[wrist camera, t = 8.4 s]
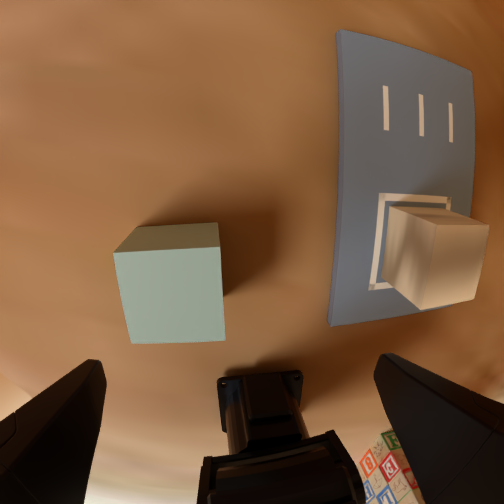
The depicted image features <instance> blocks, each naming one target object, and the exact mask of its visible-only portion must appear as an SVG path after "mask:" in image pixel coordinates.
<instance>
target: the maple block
mask: <svg viewBox="0 0 504 504" xmlns="http://www.w3.org/2000/svg"><path fill="white" fill-rule="evenodd" d="M489 227H490V225H488V224H485V223H482V222H480V221H477V220H474V219H472V218H469V217H466V216H463V215H461V214H458V213H455V212H452V211H449V210H446V209H443V208H427V207H400V206H389V217H388V227H387V236H386V244H385V252H384V259H383V266H382V273H381V278H383V279H384V280H385V281H386V282H388V283H389V284H390V285H391V286H392V287H394V288H395V289H396V290H397V291H398V292H400V293H401V294H402V295H403V296H404V297H406V298H407V299H408V300H409V301H410V302H412V303H413V304H414V305H415V306H416V307H418V308H419V309H420V310H424V309H429V308H434V307H439V306H444V305H449V304H454V303H459V302H463V301H468V300H472V299H474V297H475V293H476V289H477V285H478V281H479V277H480V273H481V269H482V265H483V260H484V255H485V250H486V245H487V239H488V234H489Z"/></svg>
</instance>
